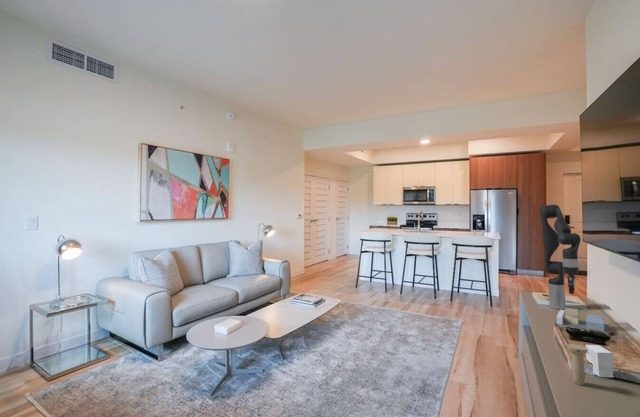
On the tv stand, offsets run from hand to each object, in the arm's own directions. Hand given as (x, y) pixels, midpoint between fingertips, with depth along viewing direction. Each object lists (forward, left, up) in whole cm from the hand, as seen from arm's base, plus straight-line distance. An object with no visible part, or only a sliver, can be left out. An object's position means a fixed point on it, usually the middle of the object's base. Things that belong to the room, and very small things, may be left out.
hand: (571, 292), depth 185 cm
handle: (+77, +7, -20) cm, 80 cm away
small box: (+61, +13, -20) cm, 66 cm away
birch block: (0, -1, -19) cm, 19 cm away
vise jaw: (0, +10, -18) cm, 21 cm away
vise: (0, +4, -20) cm, 20 cm away
